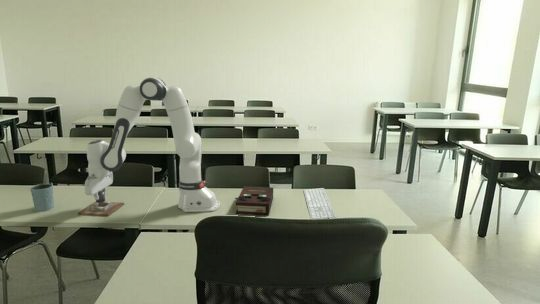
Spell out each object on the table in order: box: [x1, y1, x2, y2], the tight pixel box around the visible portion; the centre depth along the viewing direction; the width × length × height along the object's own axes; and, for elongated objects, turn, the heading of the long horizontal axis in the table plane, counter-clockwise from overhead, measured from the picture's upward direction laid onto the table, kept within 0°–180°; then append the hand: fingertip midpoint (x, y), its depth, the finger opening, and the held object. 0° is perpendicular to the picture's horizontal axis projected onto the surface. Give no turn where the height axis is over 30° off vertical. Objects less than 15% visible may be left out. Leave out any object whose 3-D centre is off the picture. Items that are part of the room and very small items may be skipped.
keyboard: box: [303, 187, 337, 220], centre depth 208 cm, size 44×12×2 cm, turn 0°
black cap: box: [95, 190, 106, 203], centre depth 195 cm, size 4×4×5 cm
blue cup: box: [29, 183, 55, 212], centre depth 196 cm, size 10×10×12 cm
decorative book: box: [234, 186, 274, 216], centre depth 203 cm, size 19×8×30 cm
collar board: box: [77, 200, 125, 217], centre depth 196 cm, size 16×16×2 cm
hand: (100, 197), depth 195 cm, fingers closed on black cap, 4 cm apart
